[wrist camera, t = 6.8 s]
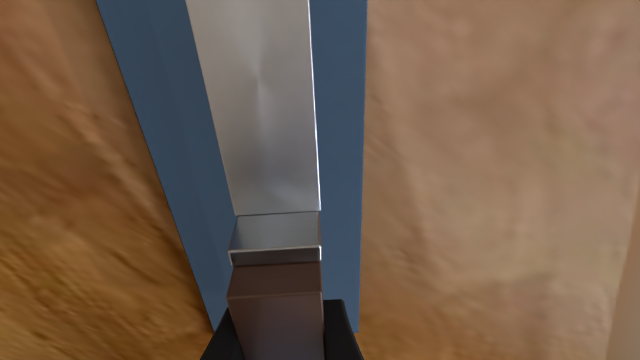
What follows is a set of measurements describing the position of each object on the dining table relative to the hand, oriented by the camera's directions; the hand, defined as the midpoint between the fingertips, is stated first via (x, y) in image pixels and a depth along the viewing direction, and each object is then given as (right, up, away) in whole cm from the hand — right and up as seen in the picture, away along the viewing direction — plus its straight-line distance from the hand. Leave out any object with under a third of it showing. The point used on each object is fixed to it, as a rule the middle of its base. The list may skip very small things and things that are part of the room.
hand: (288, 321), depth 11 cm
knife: (0, +4, -1) cm, 5 cm away
